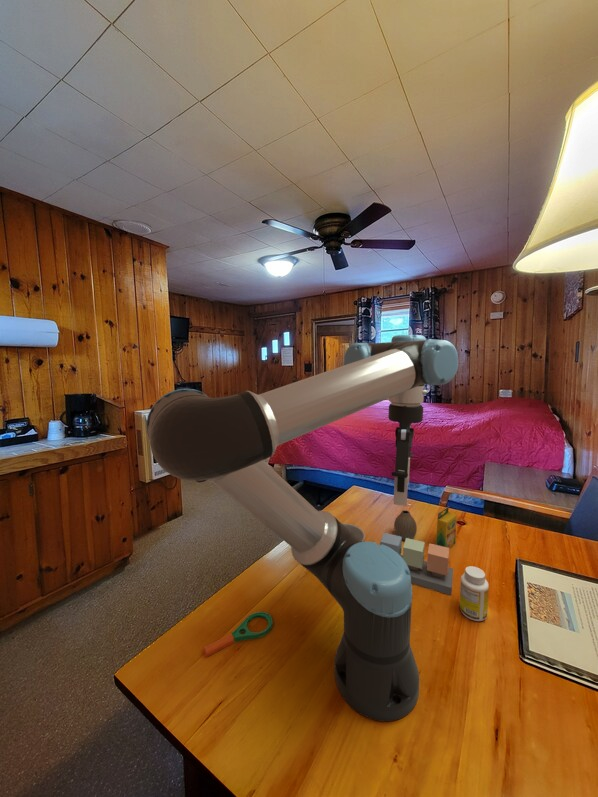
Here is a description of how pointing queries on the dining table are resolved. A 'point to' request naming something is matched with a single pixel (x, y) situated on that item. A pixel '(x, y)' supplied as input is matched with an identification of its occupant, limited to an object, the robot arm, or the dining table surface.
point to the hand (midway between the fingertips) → (401, 492)
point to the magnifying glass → (237, 636)
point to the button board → (431, 579)
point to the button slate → (392, 542)
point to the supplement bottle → (474, 594)
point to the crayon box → (446, 529)
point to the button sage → (414, 552)
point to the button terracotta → (438, 559)
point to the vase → (405, 525)
